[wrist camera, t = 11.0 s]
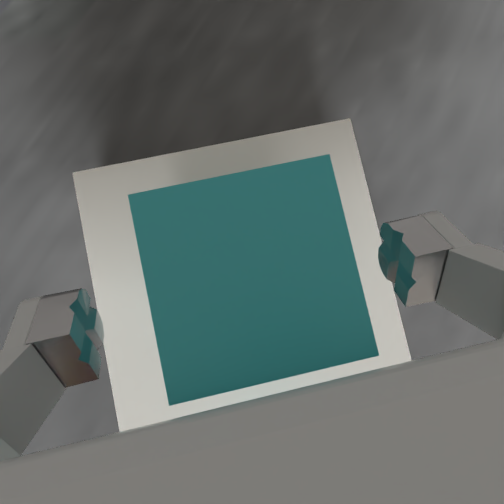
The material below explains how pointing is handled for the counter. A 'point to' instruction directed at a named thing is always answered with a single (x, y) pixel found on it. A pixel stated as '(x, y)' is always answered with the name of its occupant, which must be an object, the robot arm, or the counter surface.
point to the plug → (250, 278)
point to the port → (132, 279)
